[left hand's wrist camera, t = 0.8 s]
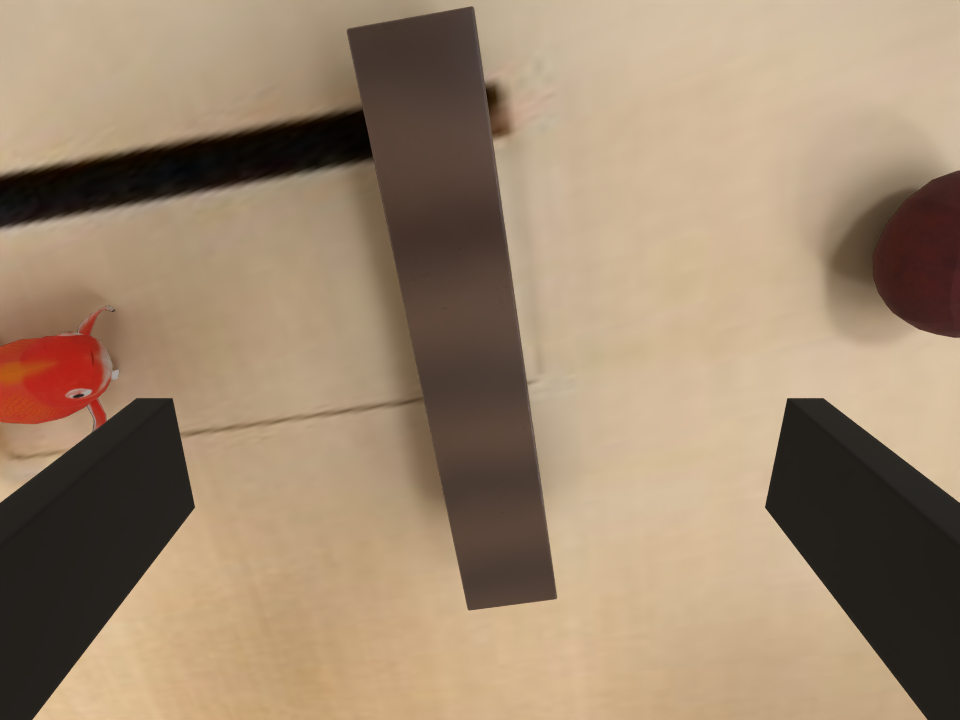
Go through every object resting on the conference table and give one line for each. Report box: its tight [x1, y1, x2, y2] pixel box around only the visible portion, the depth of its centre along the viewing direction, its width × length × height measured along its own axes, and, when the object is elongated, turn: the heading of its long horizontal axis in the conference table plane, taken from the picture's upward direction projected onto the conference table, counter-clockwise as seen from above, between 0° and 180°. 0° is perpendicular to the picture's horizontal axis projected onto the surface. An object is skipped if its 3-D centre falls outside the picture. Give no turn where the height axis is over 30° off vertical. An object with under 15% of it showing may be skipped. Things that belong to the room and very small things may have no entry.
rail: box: [347, 7, 557, 610], centre depth 29 cm, size 26×4×8 cm, turn 9°
